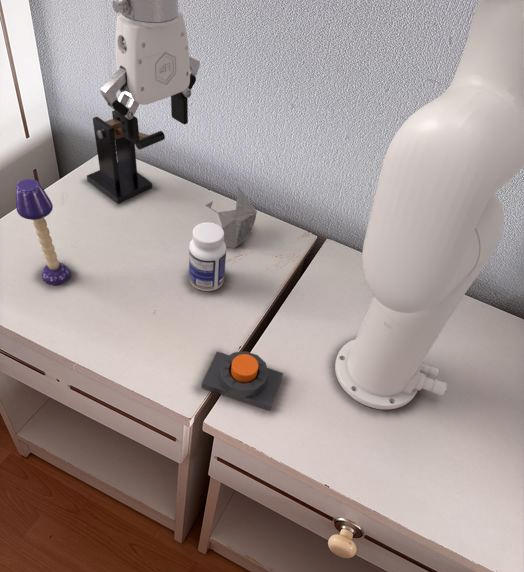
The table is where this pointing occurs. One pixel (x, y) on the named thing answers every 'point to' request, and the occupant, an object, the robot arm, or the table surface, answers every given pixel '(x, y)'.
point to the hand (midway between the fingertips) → (156, 130)
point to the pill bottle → (207, 257)
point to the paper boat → (237, 220)
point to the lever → (143, 138)
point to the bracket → (116, 164)
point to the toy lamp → (40, 227)
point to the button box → (252, 392)
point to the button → (244, 368)
